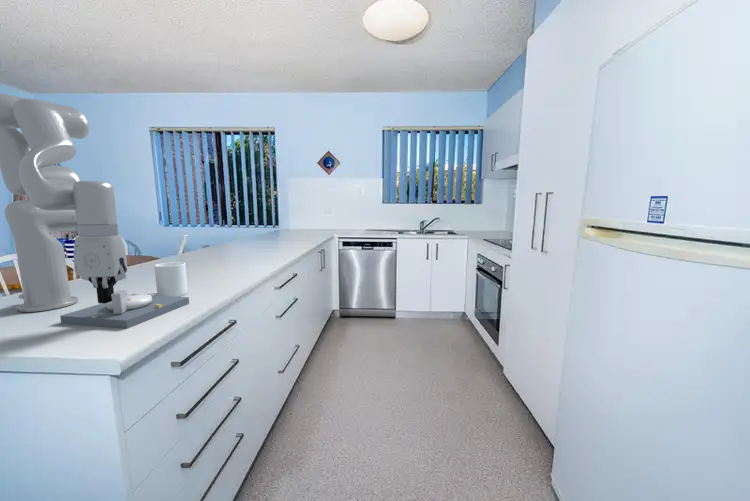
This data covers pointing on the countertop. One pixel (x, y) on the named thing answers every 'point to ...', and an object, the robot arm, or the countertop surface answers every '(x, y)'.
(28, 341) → the countertop surface
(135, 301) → the dial
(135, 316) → the panel
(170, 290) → the mug
